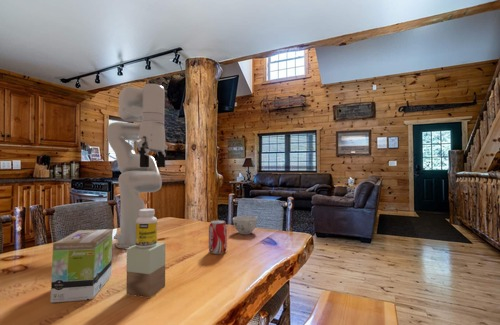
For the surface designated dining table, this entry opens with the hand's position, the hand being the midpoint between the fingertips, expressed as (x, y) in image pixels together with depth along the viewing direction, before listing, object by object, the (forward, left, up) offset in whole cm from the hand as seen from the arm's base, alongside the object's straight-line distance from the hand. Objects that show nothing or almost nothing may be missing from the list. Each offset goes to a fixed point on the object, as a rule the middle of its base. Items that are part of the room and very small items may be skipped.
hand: (153, 167), depth 95 cm
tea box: (-5, -23, -34) cm, 41 cm away
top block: (+12, -20, -27) cm, 36 cm away
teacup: (+22, +46, -34) cm, 61 cm away
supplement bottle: (+12, -20, -22) cm, 32 cm away
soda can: (+19, +15, -34) cm, 41 cm away
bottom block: (+12, -20, -33) cm, 41 cm away
